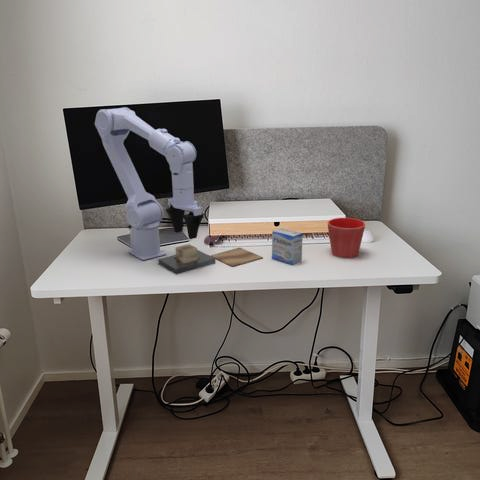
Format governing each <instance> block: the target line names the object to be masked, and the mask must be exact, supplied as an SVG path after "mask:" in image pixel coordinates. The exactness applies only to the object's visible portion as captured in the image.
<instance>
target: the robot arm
mask: <svg viewBox="0 0 480 480" xmlns="http://www.w3.org/2000/svg"><path fill="white" fill-rule="evenodd" d="M95 115H96V116H95V121H94V126H95V129H97V132H98V134H99V137H100V138H101V142H102V145H103V147H104V148H103V149H104V150H105V152H106V154H107V157H108V158H109V161H110V163H111V165H112V167H113V169H114V172H115V173H116V175H117V178H118V180H119V182H120V184H121V186H122V188H123V190H124V193H125V195H126V197H127V199H128V200H127V202H126V204H125V205H124V211H125V212H126V218H127V222H128V224H129V225H130V231H129V236H130V237H129V239H130V246H131V247H130V250H128V253H129V254H131V255H133V256H135V257H136V258H138V259H139V260H141V261H145V260H150V259H155V258H158V257H162V256H166V255H167V253H166V252H164V251H163V250H161V243H160V241H161V240H160V239H161V238H160V229H159V228H160V226H159V225H161V220H162V219H163V217H164V209H163V206H162V205H161V203H159V202H158V201H157V200H156V197H155V196H154V195H153V194H151V193H149V192H147V191H146V189H145V188H144V187H145V186H144V185H143V183H142V181H141V178H140V177H139V174H138V172H137V170H136V168H135V166H134V163H133V162H132V159H131V157H130V155H129V153H128V151H127V148H126V147H125V145H124V142H125V140H126V139H127V137H128V136H129V133H130V131H131V132H132V133H135V134H136V135H137V136H140V137H141V138H143V139H146V140H147V141H148V144H149V147H150V148H152V149H153V150H155V151H156V152H158V153H159V154H160V155H162V156H164V157H165V159H166V161H167V163H168V165H169V170H170V172H171V182H172V183H171V185H172V197H171V198H168V199H167V204H168V205H167V206H169V207H167V208H166V209H165V212H166V213H167V214H168V217H169V219H170V221H171V223H172V224H171V225H172V227H173V230H174V232H175V233H176V234H177V233H182V232H183V229H184V222H185V225H186V230H187V237H188V238H189V240H193V239H197V237H198V232H199V228H200V225H201V222H202V220H203V218H204V217H205V215H204V213H203V212H202V207H200V206H198V201H197V200H195V193H194V192H195V191H194V189H195V188H194V187H195V186H194V169H193V168H194V167H193V165H194V164H193V162H194V161H196V158H197V150H196V148H195V146H194V144H193V143H191V142H190V141H188V140H186V141H181V140H180V138H179V137H175V136H174V135H171V133H168V130H167V129H166V128H157V129H155V128H154V127H152V126H151V125H150V124H148V123H147V122H146V121H144V120H142V118H140V117H139V116H138V115H136V112H135V111H134V110H131V109H130V108H128V106H127V107H126V106H124V107H119V108H107V109H105V108H104V109H99V110H98V111H97V112H96V114H95ZM185 212H187V213H185Z"/></svg>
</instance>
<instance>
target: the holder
mask: <svg viewBox="0 0 480 480" xmlns="http://www.w3.org/2000/svg"><path fill="white" fill-rule="evenodd" d="M197 255H198V260H196V261H192V262H188V263H184V264H183V263H181V262H179V261H178V260H176V254H172V255H169V256H165V257H162V258H158V259H157V260H158V261H157V262H158V265H160V266H161V267H163V268H164V269H166V270H168V271H169V272H170V273H171V272H172V273H173V274H175V275H179V274H182V273H186V272H190V271H193V270H197V269H201V268H203V267H207V266H212V265H215V264H216V262H217V261H216V259H215V258H213V257H211V255H209V254H206V253H205V252H203V251H201V250H199V249H197Z"/></svg>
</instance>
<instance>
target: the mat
mask: <svg viewBox="0 0 480 480" xmlns="http://www.w3.org/2000/svg"><path fill="white" fill-rule="evenodd" d="M210 256H211V257H213V258H215V260H217V261H218V262H220V263H221V262H222V263H223V264H225V265H227V266H229V267H231V268H235V267H238V266H241V265H245V264H248V263H252V262H255V261H258V260H262V259H264V258H263V256H261V255H258V254H257V253H254V252H251V251H249V250H247V249H246V248H243V247H236V248H233V249H229V250H225V251H221V252H218V253H214V254H211V255H210Z"/></svg>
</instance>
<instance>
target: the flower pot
mask: <svg viewBox="0 0 480 480" xmlns="http://www.w3.org/2000/svg"><path fill="white" fill-rule="evenodd" d="M365 227H366V223H365V221H363V220H361V219H357V218H355V217H354V218H353V217H335V218H331V219H329V220H328V221H327V229H328V230H327V231H328V238H329V245H330V250H331V253H332V256H335V257H338V258H345V259H350V258H351V259H352V258H356V257H357V256H359V252H360V249H361V248H360V247H361V244H362V240H363V237H364V231H365Z"/></svg>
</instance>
